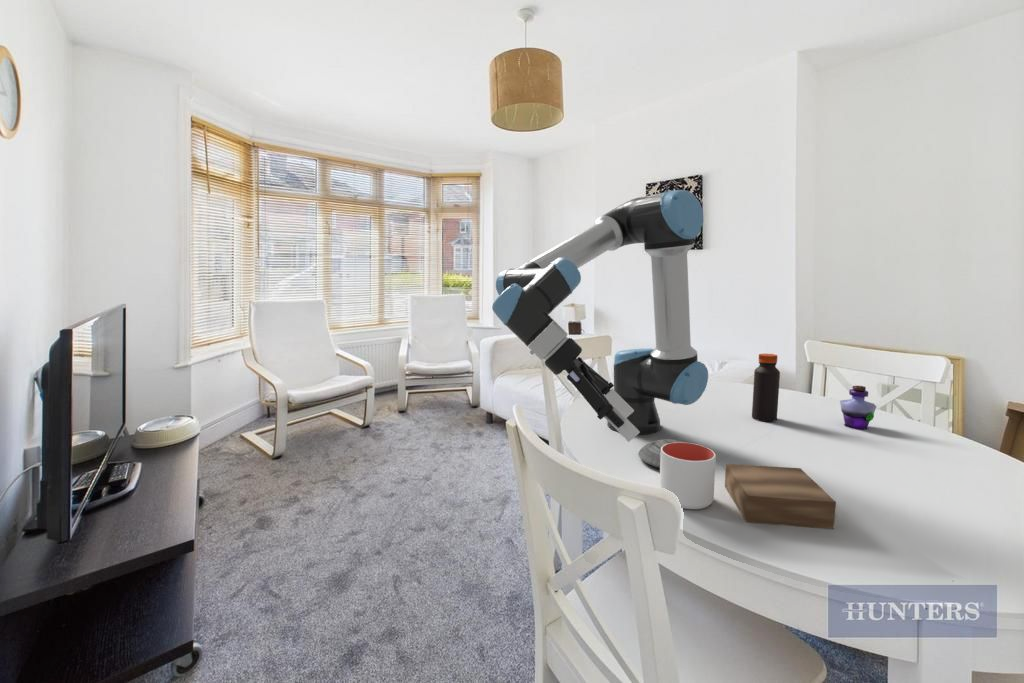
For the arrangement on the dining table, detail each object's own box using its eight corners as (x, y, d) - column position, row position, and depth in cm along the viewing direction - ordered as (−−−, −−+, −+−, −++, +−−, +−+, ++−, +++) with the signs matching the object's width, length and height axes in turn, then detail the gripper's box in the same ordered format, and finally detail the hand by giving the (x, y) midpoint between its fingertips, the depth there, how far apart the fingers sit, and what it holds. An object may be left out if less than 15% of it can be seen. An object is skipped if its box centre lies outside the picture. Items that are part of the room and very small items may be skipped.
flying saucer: (698, 481, 97) (699, 457, 96) (630, 467, 104) (631, 444, 104) (709, 457, 109) (710, 436, 108) (647, 446, 117) (648, 426, 116)
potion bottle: (870, 433, 123) (874, 391, 121) (833, 426, 130) (836, 385, 128) (878, 426, 128) (882, 386, 127) (842, 420, 135) (845, 381, 133)
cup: (719, 514, 82) (721, 463, 81) (662, 509, 84) (664, 459, 83) (706, 489, 92) (709, 443, 91) (656, 486, 94) (657, 440, 93)
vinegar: (781, 422, 134) (786, 356, 131) (758, 422, 134) (762, 356, 131) (769, 415, 141) (773, 352, 138) (747, 415, 141) (751, 353, 138)
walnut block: (724, 486, 93) (726, 463, 93) (798, 491, 91) (800, 468, 90) (746, 521, 80) (747, 495, 79) (833, 529, 77) (836, 501, 76)
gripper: (549, 352, 102) (615, 418, 101) (533, 374, 78) (620, 461, 77) (572, 329, 100) (640, 396, 100) (564, 345, 76) (653, 433, 75)
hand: (631, 425), depth 88 cm, fingers open, 13 cm apart
